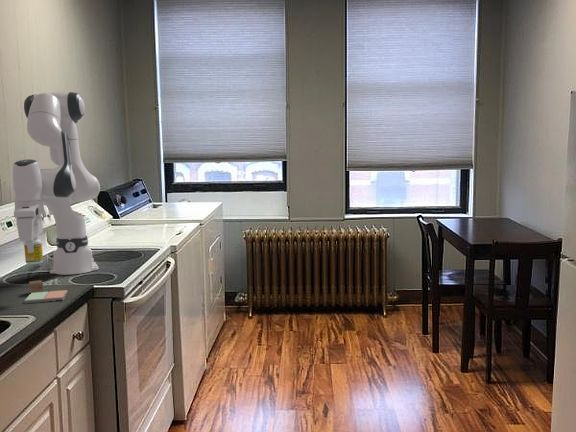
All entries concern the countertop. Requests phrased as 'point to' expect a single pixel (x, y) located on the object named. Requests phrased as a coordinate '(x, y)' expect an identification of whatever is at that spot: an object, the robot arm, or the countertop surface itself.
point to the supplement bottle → (37, 254)
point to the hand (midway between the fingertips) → (33, 250)
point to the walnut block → (36, 286)
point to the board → (46, 296)
